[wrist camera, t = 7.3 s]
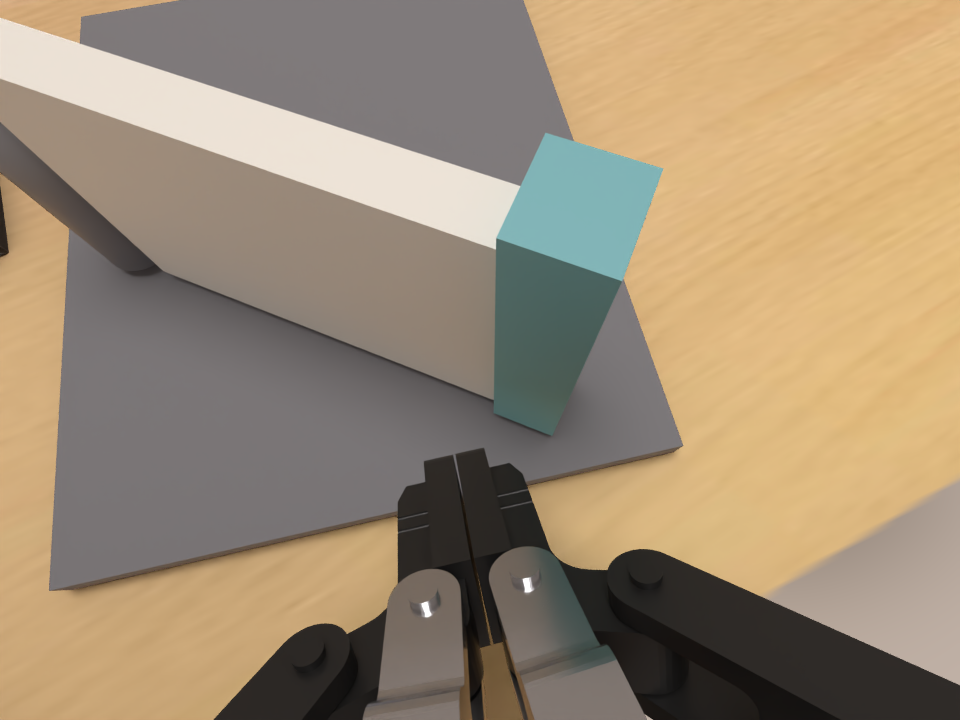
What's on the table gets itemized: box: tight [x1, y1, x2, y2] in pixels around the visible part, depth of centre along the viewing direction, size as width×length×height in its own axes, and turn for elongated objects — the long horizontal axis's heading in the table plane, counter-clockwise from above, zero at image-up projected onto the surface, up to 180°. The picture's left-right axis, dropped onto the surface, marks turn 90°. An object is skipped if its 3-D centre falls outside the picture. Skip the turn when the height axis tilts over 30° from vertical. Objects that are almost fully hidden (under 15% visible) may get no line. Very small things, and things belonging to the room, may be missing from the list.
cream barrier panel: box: [0, 18, 663, 436], centre depth 14 cm, size 18×2×10 cm, turn 68°
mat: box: [49, 0, 683, 591], centre depth 22 cm, size 20×25×1 cm
